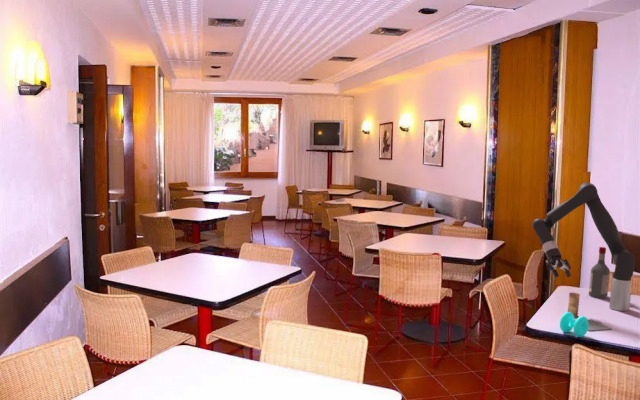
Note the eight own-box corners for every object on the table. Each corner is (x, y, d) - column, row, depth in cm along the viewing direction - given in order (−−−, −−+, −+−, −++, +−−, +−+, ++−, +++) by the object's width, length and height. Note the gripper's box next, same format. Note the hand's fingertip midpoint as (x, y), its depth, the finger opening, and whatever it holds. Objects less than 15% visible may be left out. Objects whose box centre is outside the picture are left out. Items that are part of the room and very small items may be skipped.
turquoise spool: (577, 339, 256) (579, 319, 255) (557, 332, 264) (559, 313, 263) (588, 335, 262) (590, 315, 261) (568, 329, 270) (570, 309, 269)
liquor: (608, 296, 331) (613, 247, 328) (603, 299, 325) (609, 249, 321) (591, 293, 337) (596, 245, 334) (587, 296, 330) (592, 247, 327)
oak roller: (573, 313, 295) (575, 292, 293) (579, 317, 290) (581, 295, 288) (565, 314, 293) (567, 292, 292) (571, 317, 288) (574, 295, 287)
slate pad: (591, 320, 285) (591, 319, 285) (612, 329, 272) (612, 328, 272) (568, 321, 281) (568, 320, 281) (589, 331, 268) (589, 330, 268)
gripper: (546, 247, 302) (557, 273, 294) (565, 247, 307) (577, 273, 299) (537, 253, 308) (548, 279, 299) (557, 254, 313) (568, 279, 304)
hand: (563, 276), depth 299 cm, fingers open, 8 cm apart
